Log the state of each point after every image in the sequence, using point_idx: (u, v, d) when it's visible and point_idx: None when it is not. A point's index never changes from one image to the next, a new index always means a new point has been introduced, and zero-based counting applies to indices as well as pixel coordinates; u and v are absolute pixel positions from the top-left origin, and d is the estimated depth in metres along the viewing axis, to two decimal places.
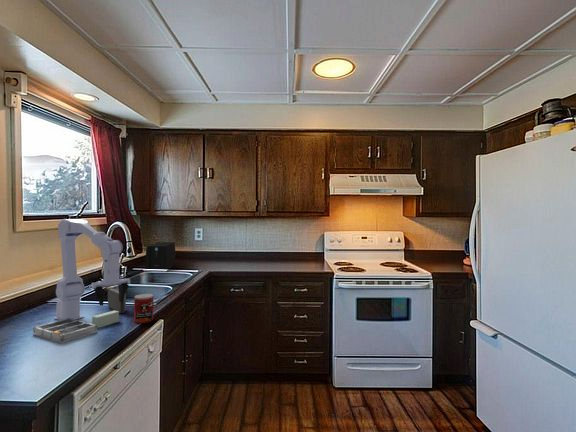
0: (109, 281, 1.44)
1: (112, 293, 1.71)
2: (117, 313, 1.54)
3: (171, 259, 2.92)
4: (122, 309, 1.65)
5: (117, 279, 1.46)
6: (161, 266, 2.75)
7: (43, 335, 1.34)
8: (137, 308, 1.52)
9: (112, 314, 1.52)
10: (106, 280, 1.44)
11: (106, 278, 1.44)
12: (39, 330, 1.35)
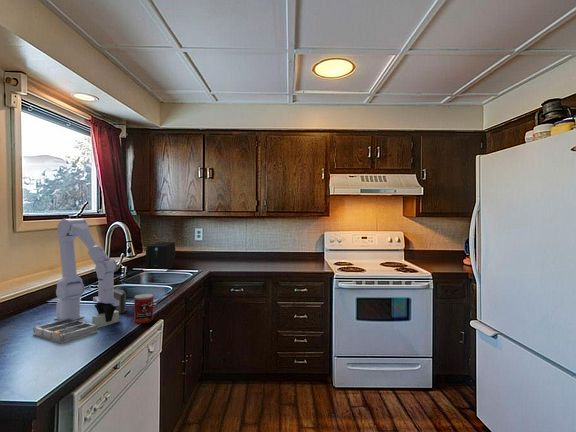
0: (98, 298, 1.50)
1: None
2: (117, 313, 1.54)
3: (171, 259, 2.92)
4: (122, 309, 1.65)
5: (102, 298, 1.48)
6: (161, 266, 2.75)
7: (43, 335, 1.34)
8: (137, 308, 1.52)
9: None
10: None
11: None
12: (39, 330, 1.35)
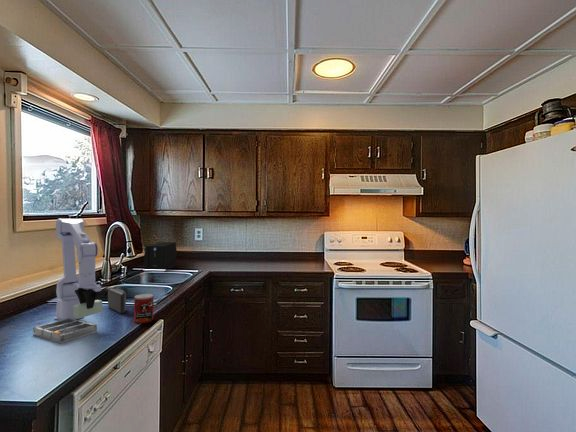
0: (78, 284, 1.40)
1: (112, 293, 1.71)
2: (100, 302, 1.45)
3: (171, 259, 2.91)
4: (122, 309, 1.65)
5: (83, 283, 1.39)
6: (159, 266, 2.75)
7: (43, 335, 1.34)
8: (137, 308, 1.52)
9: (95, 303, 1.43)
10: None
11: None
12: (39, 330, 1.35)
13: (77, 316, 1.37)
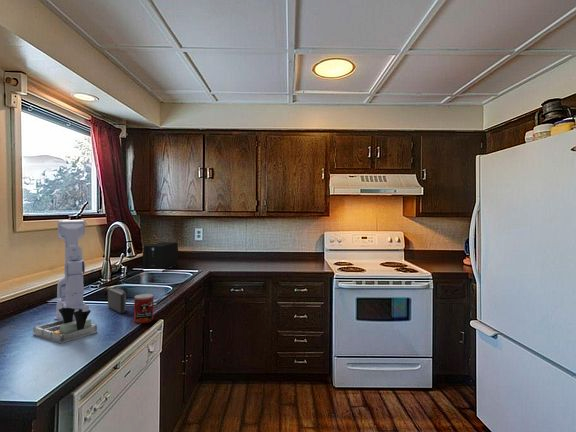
0: (65, 303, 1.35)
1: (112, 293, 1.71)
2: (89, 321, 1.40)
3: (171, 259, 2.90)
4: (122, 309, 1.65)
5: (70, 303, 1.33)
6: (157, 266, 2.75)
7: (43, 335, 1.34)
8: (137, 308, 1.52)
9: None
10: None
11: None
12: (39, 330, 1.35)
13: None
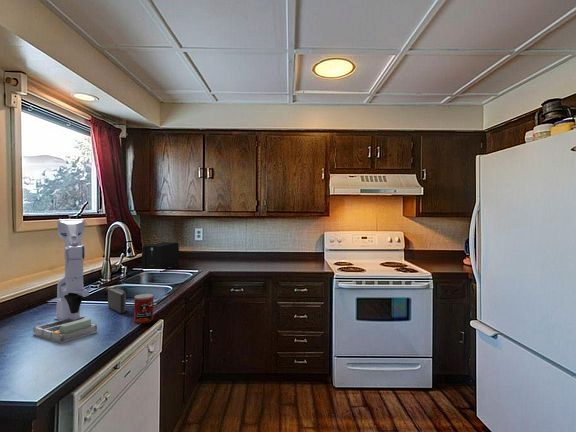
0: (65, 288, 1.35)
1: (112, 293, 1.71)
2: (89, 321, 1.40)
3: (171, 259, 2.90)
4: (122, 309, 1.65)
5: (70, 288, 1.33)
6: (156, 266, 2.75)
7: (43, 335, 1.34)
8: (137, 308, 1.52)
9: (83, 322, 1.38)
10: None
11: None
12: (39, 330, 1.35)
13: None
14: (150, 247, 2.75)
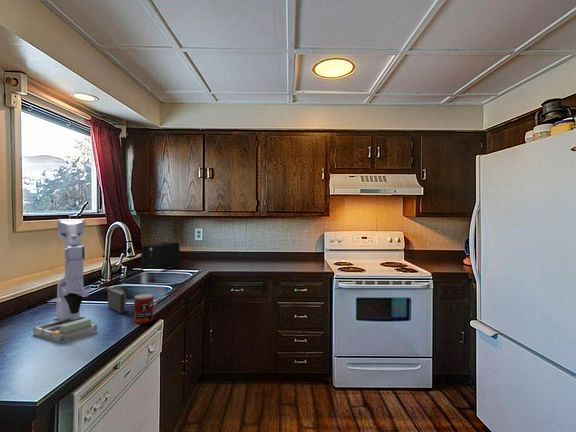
0: (65, 288, 1.35)
1: (112, 293, 1.71)
2: (89, 321, 1.40)
3: (170, 259, 2.90)
4: (122, 309, 1.65)
5: (70, 288, 1.33)
6: (155, 266, 2.74)
7: (43, 335, 1.34)
8: (137, 308, 1.52)
9: (83, 322, 1.38)
10: None
11: None
12: (39, 330, 1.35)
13: None
14: (149, 247, 2.75)
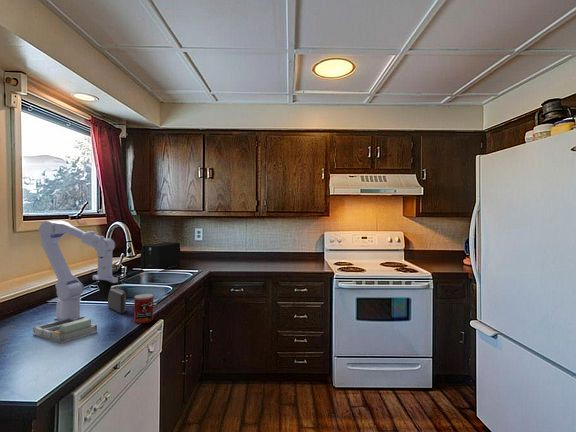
0: (97, 276, 1.54)
1: (112, 293, 1.71)
2: (89, 321, 1.40)
3: (170, 259, 2.89)
4: (122, 309, 1.65)
5: (101, 275, 1.53)
6: (154, 266, 2.74)
7: (43, 335, 1.34)
8: (137, 308, 1.52)
9: (83, 322, 1.38)
10: None
11: None
12: (39, 330, 1.35)
13: None
14: (148, 247, 2.75)
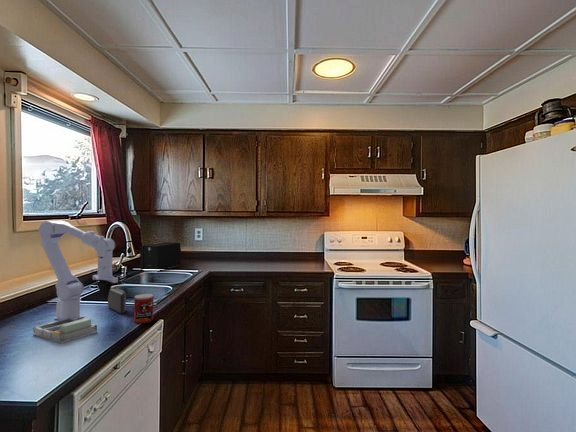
0: (97, 276, 1.54)
1: (112, 293, 1.71)
2: (89, 321, 1.40)
3: (170, 260, 2.89)
4: (122, 309, 1.65)
5: (101, 275, 1.53)
6: (153, 266, 2.74)
7: (43, 335, 1.34)
8: (137, 308, 1.52)
9: (83, 322, 1.38)
10: None
11: None
12: (39, 330, 1.35)
13: None
14: (148, 247, 2.75)
